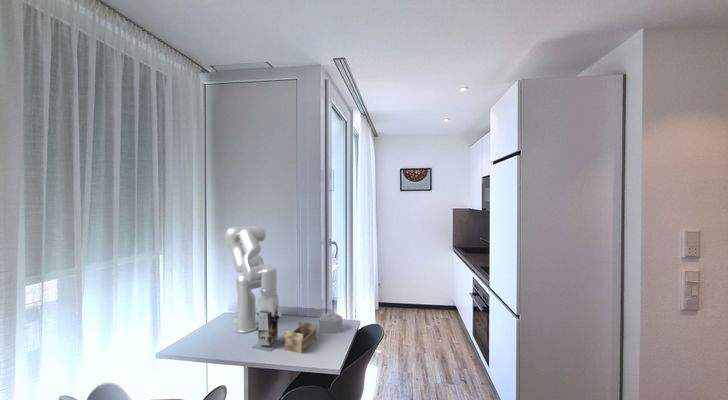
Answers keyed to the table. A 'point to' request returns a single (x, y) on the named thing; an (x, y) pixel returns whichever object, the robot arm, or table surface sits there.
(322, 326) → the lumpy-topped squat cylinder
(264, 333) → the coffee box
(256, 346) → the mat
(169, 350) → the table surface
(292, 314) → the table surface
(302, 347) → the carton
